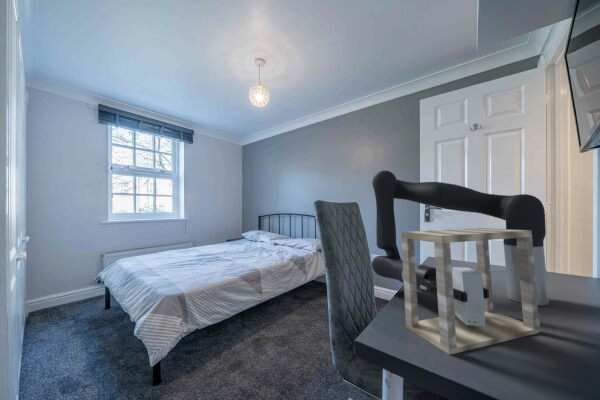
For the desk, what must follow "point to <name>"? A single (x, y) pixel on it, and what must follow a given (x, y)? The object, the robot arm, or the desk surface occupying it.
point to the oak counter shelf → (492, 319)
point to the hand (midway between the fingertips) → (477, 295)
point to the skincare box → (469, 296)
